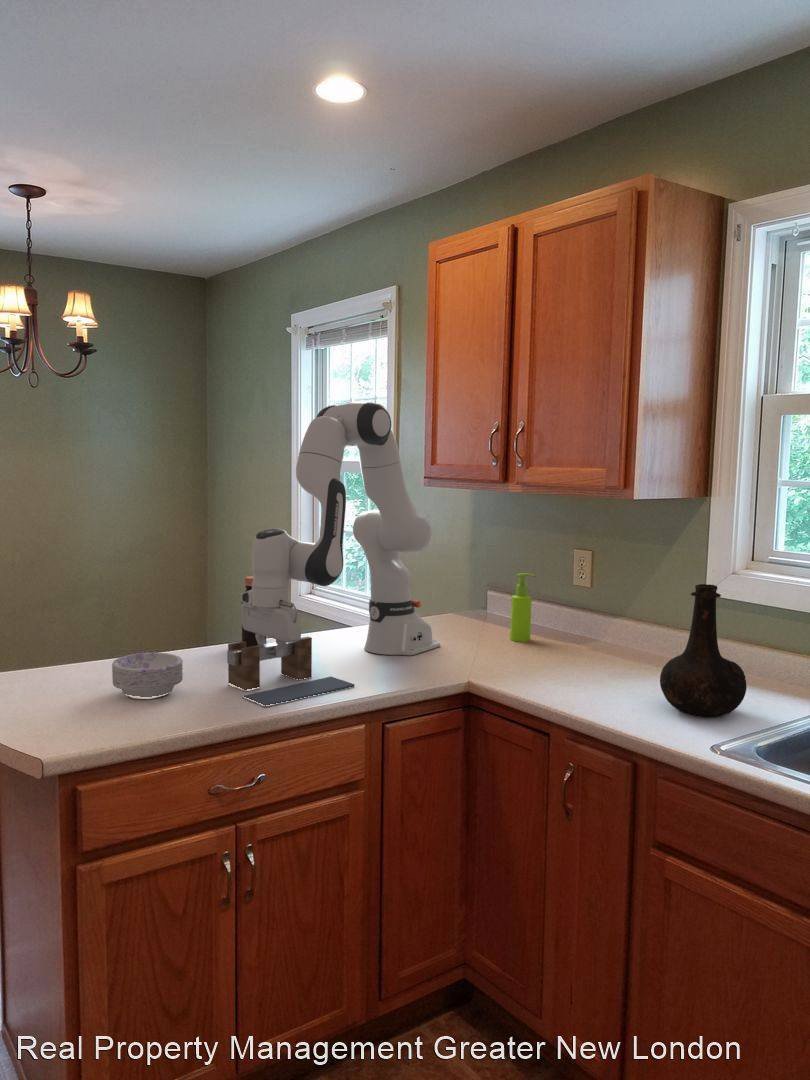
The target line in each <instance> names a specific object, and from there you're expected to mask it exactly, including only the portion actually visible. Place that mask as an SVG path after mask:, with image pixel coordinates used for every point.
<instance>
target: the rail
mask: <svg viewBox="0 0 810 1080" xmlns="http://www.w3.org/2000/svg"><path fill="white" fill-rule="evenodd" d="M256 646H259V647H260V662H261V661H266V660H272V659H276V658H277V657H275V656H274V650H275V649H276V647H277V644H276V641H273V642H269V643H268V642H267V643H266V644H262V645H256ZM226 652H227V653H226V658H227V659H226V660H227V661H226V662H227V665H228V664H231V665H234V666H235V665H240V664H241V648H239V649H233V650H228V649H227V651H226ZM294 654H295V642H292V643H287V644H286V646H285V648H284V650H283V656H288V655H294Z"/></svg>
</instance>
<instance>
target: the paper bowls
mask: <svg viewBox="0 0 810 1080" xmlns="http://www.w3.org/2000/svg"><path fill="white" fill-rule="evenodd" d="M183 670H184V668H183V659H182V657H180V656H179V655H177V654H173V653H168V652H167V653H166V652H140V653H134V654H129V655H128V654H127V655H124V656H121V657H118V658H116V659H114V660H113V661H112V663H111V672H112V674H111V679H112V685H113V687H115V688H117V689H120V690H121V691H122V693H123V694H124V693H125V694H127V695H132V696H140V697H152V696H159V695H163V694H166V693H169V692H172V691H173V690H174V688H175V686H176V685H179V684H180V683H181V682H182V681H183V677H184V676H183V675H184V674H183ZM169 694H170V693H169Z"/></svg>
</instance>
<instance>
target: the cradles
mask: <svg viewBox="0 0 810 1080" xmlns="http://www.w3.org/2000/svg"><path fill="white" fill-rule="evenodd" d="M312 640H313V637H311V636H303V637H301V638H300V640H299V641H297V642H295V654H294V655H288V656H283V657H281V658H280V661H281V662H280V667H281V668H280V672H281V673H282V674H284V675H287V676H289V677H288V678H290V677H292V678H291V679H293V678H295V679H294V680H296V679H298V680H297V681H300V680H299V679H303V680H305V679H304V678H308V679H310V678H309V677H312V675H313V674H312V673H313V670H312V669H313V666H312V665H313V664H312V663H313V662H312V661H313V659H312V656H313V651H312V649H313V647H312V646H313V645H312V643H313V641H312ZM227 648H228V649H227V650H233V649H239V648H241V664H240V665H235V666H234V665H231V664H228V663H227V665H228V666H227V669H228V670H227V671H228V672H227V674H228V675H227V676H228V681H227V683H231V684H233V685H235V686H237V687H240V688H242V689H244V690H247V689H252V688H257V687H260V688H261V685H260V683H261V681H260V680H261V679H260V678H261V675H260V674H261V665H260V663H261V661H260V647H259V646H250V647H246V642H244V641H242V640H241V641H237V642H230V643H228V644H227ZM281 673H280V674H281ZM284 675H283V676H284ZM287 676H286V677H287ZM312 678H313V677H312Z"/></svg>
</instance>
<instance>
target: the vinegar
mask: <svg viewBox="0 0 810 1080" xmlns="http://www.w3.org/2000/svg"><path fill="white" fill-rule="evenodd" d="M253 577H254V575H251V576H250V575H248V576H245V577H244V586H245V588H246V589H245V591H244V592H246V591H249V590H252V582H253ZM242 604H243V602H242V601H241V605H242ZM241 641H244V642H246V647H250V646H256V645H258V643H257V640H256V637H255V633H253V632H250V631H247V630H244V628H243V626H242V625H241ZM265 641H266V642H267V636H266V637H265Z"/></svg>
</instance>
